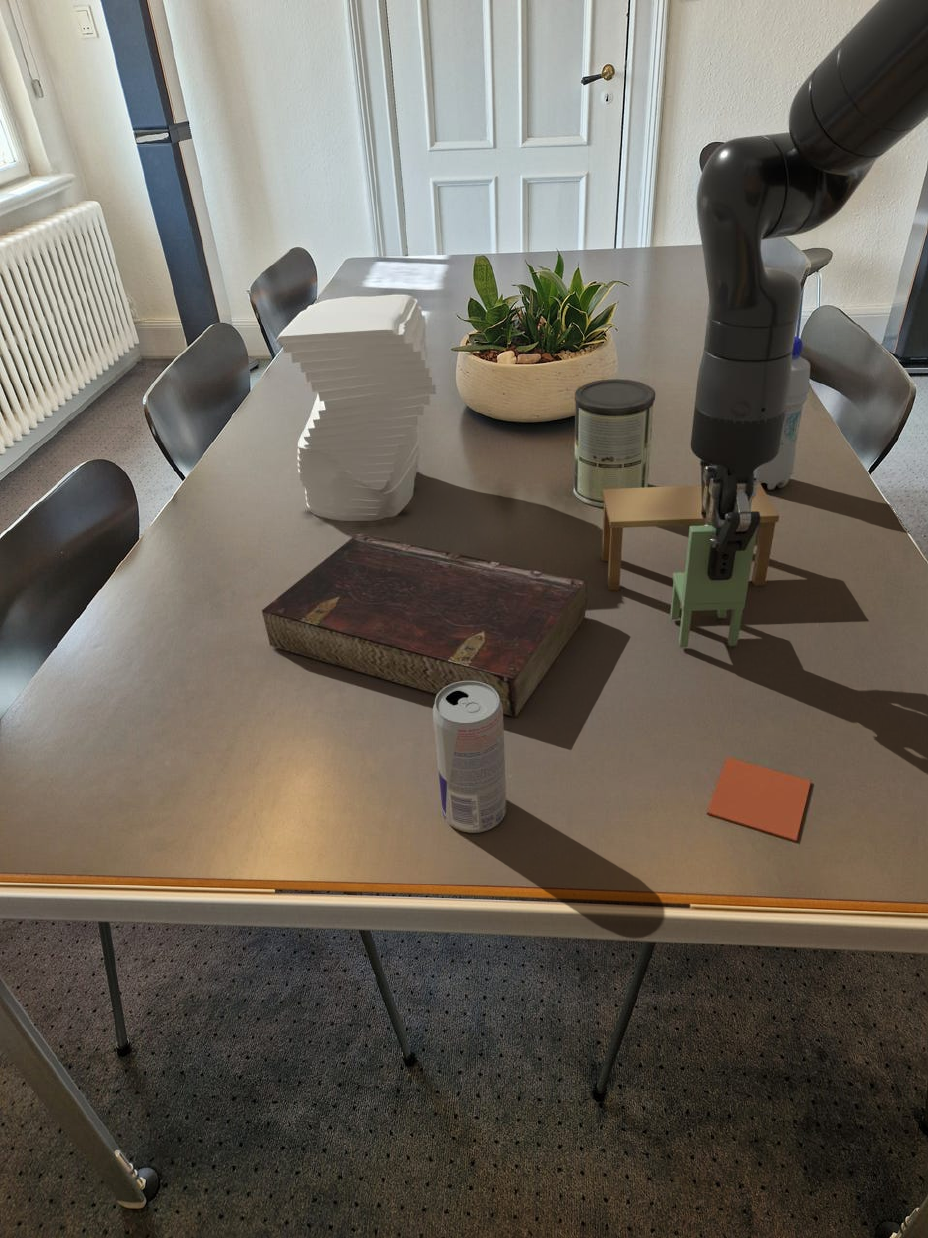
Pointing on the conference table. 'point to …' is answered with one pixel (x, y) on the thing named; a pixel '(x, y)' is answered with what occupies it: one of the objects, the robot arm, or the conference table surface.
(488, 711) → the energy drink
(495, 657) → the hardback book
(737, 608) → the chair
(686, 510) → the model table
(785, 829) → the felt mat
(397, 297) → the paper stack
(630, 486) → the coffee can
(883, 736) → the conference table surface
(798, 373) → the bottle
